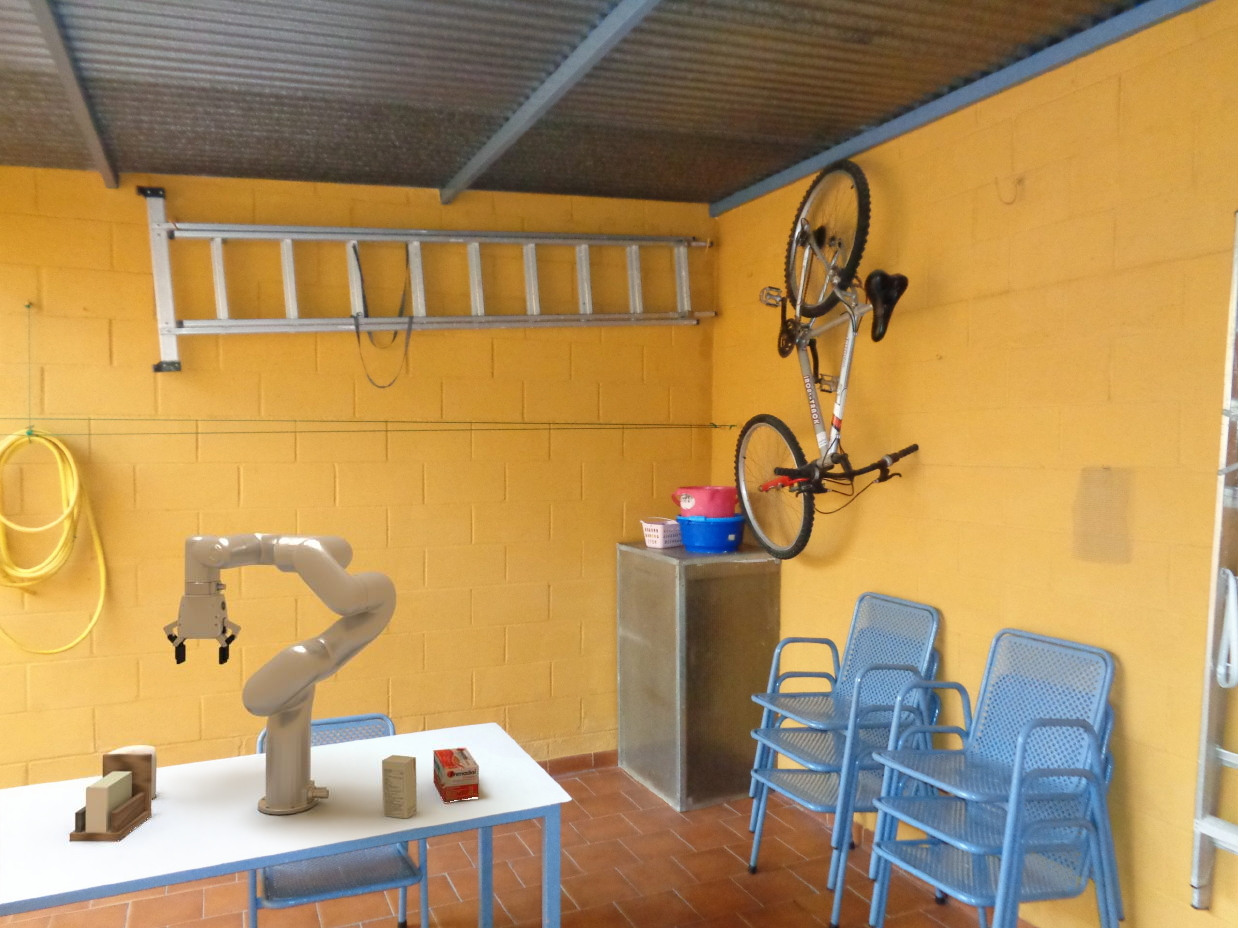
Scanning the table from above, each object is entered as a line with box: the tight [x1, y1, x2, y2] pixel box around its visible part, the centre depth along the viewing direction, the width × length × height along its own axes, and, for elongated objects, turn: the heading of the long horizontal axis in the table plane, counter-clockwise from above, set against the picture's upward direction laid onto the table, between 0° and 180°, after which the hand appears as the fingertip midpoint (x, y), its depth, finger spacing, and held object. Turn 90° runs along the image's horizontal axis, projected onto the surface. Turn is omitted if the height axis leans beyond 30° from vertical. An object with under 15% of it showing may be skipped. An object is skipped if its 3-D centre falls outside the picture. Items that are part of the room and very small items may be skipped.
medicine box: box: [433, 747, 480, 803], centre depth 217 cm, size 15×8×8 cm, turn 22°
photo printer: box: [107, 744, 158, 800], centre depth 209 cm, size 10×4×12 cm, turn 123°
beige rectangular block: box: [85, 771, 132, 833], centre depth 192 cm, size 4×10×9 cm, turn 0°
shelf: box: [69, 753, 152, 842], centre depth 193 cm, size 10×13×14 cm
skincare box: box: [381, 754, 418, 819], centre depth 202 cm, size 6×4×12 cm
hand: (202, 663), depth 213 cm, fingers open, 9 cm apart
